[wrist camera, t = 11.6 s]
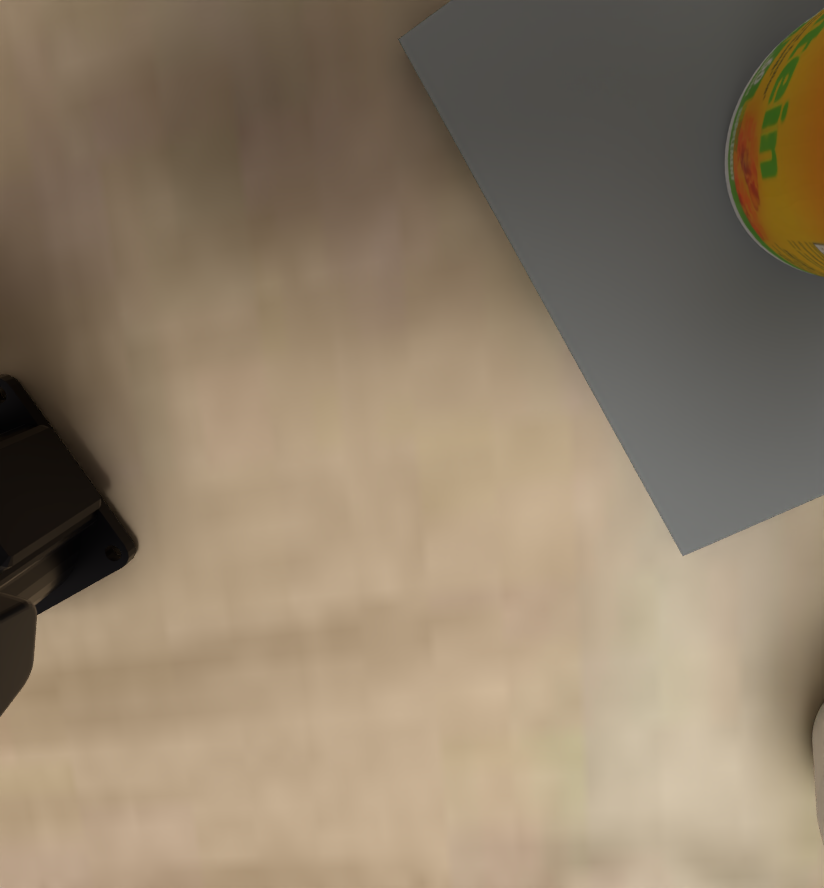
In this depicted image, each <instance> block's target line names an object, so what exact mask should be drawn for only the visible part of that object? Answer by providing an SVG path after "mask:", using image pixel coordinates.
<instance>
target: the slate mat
mask: <svg viewBox="0 0 824 888" xmlns="http://www.w3.org/2000/svg"><path fill="white" fill-rule="evenodd" d="M823 8H824V0H451V1H450V2H448V3H447V4H446V5H444V6H443V7H441V8H440V9H439V10H437V11H436V12H435V13H433V14H432V15H431V16H429V17H428V18H426V19H425V20H424V21H422V22H421V23H420V24H418V25H417V26H416V27H414V28H413V29H412V30H410V31H409V32H407V33H406V34H405V35H403V36H402V37H401V38H399V39H398V40H399V42H400V43H401V45H402V47H403V49H404V51H405V53H406V54H407V56H408V58H409V60H410V62H411V63H412V65H413V67H414V69H415V71H416V73H417V74H418V76H419V78H420V80H421V82H422V83H423V85H424V87H425V89H426V91H427V92H428V94H429V96H430V98H431V100H432V102H433V103H434V105H435V107H436V109H437V111H438V112H439V114H440V116H441V118H442V120H443V122H444V123H445V125H446V127H447V129H448V131H449V132H450V134H451V136H452V138H453V140H454V142H455V143H456V145H457V147H458V149H459V151H460V152H461V154H462V156H463V158H464V160H465V162H466V163H467V165H468V167H469V169H470V171H471V172H472V174H473V176H474V178H475V180H476V181H477V183H478V185H479V187H480V189H481V191H482V192H483V194H484V196H485V198H486V200H487V201H488V203H489V205H490V207H491V209H492V211H493V212H494V214H495V216H496V218H497V220H498V221H499V223H500V225H501V227H502V229H503V231H504V232H505V234H506V236H507V238H508V240H509V241H510V243H511V245H512V247H513V249H514V250H515V252H516V254H517V256H518V258H519V260H520V261H521V263H522V265H523V267H524V269H525V270H526V272H527V274H528V276H529V278H530V280H531V281H532V283H533V285H534V287H535V289H536V290H537V292H538V294H539V296H540V298H541V300H542V301H543V303H544V305H545V307H546V309H547V310H548V312H549V314H550V316H551V318H552V319H553V321H554V323H555V325H556V327H557V329H558V330H559V332H560V334H561V336H562V338H563V339H564V341H565V343H566V345H567V347H568V349H569V350H570V352H571V354H572V356H573V358H574V359H575V361H576V363H577V365H578V367H579V369H580V370H581V372H582V374H583V376H584V378H585V379H586V381H587V383H588V385H589V387H590V388H591V390H592V392H593V394H594V396H595V398H596V399H597V401H598V403H599V405H600V407H601V408H602V410H603V412H604V414H605V416H606V418H607V419H608V421H609V423H610V425H611V427H612V428H613V430H614V432H615V434H616V436H617V438H618V439H619V441H620V443H621V445H622V447H623V448H624V450H625V452H626V454H627V456H628V457H629V459H630V461H631V463H632V465H633V467H634V468H635V470H636V472H637V474H638V476H639V477H640V479H641V481H642V483H643V485H644V487H645V488H646V490H647V492H648V494H649V496H650V497H651V499H652V501H653V503H654V505H655V507H656V508H657V510H658V512H659V514H660V516H661V517H662V519H663V521H664V523H665V525H666V526H667V528H668V530H669V532H670V534H671V536H672V537H673V539H674V541H675V543H676V545H677V546H678V548H679V550H680V552H681V554H682V556H684V555H687V554H689V553H691V552H694V551H696V550H698V549H700V548H703V547H705V546H707V545H710V544H712V543H714V542H717V541H719V540H721V539H723V538H726V537H728V536H730V535H733V534H735V533H737V532H740V531H742V530H744V529H746V528H749V527H751V526H753V525H756V524H758V523H760V522H763V521H765V520H767V519H769V518H772V517H774V516H776V515H779V514H781V513H783V512H786V511H788V510H790V509H792V508H795V507H797V506H799V505H802V504H804V503H806V502H809V501H811V500H813V499H815V498H818V497H820V496H822V495H824V277H821V276H817V275H814V274H810V273H807V272H804V271H801V270H798V269H796V268H793V267H791V266H789V265H787V264H785V263H783V262H781V261H780V260H778V259H776V258H775V257H773V256H772V255H770V254H769V253H768V252H766V251H765V250H764V249H763V248H761V247H760V246H759V245H758V244H757V243H756V242H755V241H754V240H753V239H752V238H751V236H750V235H749V234H748V233H747V231H746V230H745V229H744V227H743V226H742V224H741V222H740V221H739V219H738V217H737V215H736V213H735V211H734V208H733V206H732V203H731V200H730V197H729V194H728V190H727V184H726V177H725V147H726V141H727V135H728V130H729V126H730V122H731V119H732V116H733V113H734V110H735V108H736V106H737V103H738V101H739V98H740V97H741V95H742V93H743V91H744V89H745V87H746V85H747V84H748V82H749V80H750V79H751V77H752V76H753V74H754V73H755V71H756V70H757V69H758V67H759V66H760V65H761V63H762V62H763V61H764V60H765V58H766V57H767V56H768V55H769V54H770V53H771V52H772V50H773V49H774V48H775V47H776V46H777V45H779V44H780V43H781V42H782V41H783V40H784V39H785V38H786V37H787V36H788V35H789V34H791V33H792V32H793V31H794V30H795V29H796V28H798V27H799V26H800V25H801V24H803V23H804V22H805V21H807V20H808V19H810V18H811V17H812V16H814V15H815V14H817V13H818V12H819V11H821V10H822V9H823Z"/></svg>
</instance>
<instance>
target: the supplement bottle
mask: <svg viewBox="0 0 824 888" xmlns="http://www.w3.org/2000/svg"><path fill="white" fill-rule="evenodd" d="M725 177H726V184H727V190H728V194H729V197H730V200H731V203H732V206H733V208H734V211H735V213H736V215H737V217H738V219H739V221H740V222H741V224H742V226H743V227H744V229H745V230H746V231H747V233H748V234H749V235H750V236H751V238H752V239H753V240H754V241H755V242H756V243H757V244H758V245H759V246H760V247H761V248H763V249H764V250H765V251H766V252H768V253H769V254H770V255H772V256H773V257H775V258H776V259H778V260H780V261H781V262H783V263H785V264H787V265H789V266H791V267H793V268H796V269H798V270H801V271H804V272H807V273H810V274H814V275H817V276H821V277H824V8H823V9H822V10H821V11H819V12H818V13H817V14H815V15H814V16H812V17H811V18H810V19H808V20H807V21H805V22H804V23H803V24H801V25H800V26H799V27H798V28H796V29H795V30H794V31H793V32H792V33H791V34H789V35H788V36H787V37H786V38H785V39H784V40H783V41H782V42H781V43H780V44H779V45H777V46H776V47H775V48H774V49H773V50H772V52H771V53H770V54H769V55H768V56H767V57H766V58H765V60H764V61H763V62H762V63H761V65H760V66H759V67H758V69H757V70H756V71H755V73H754V74H753V76H752V77H751V79H750V80H749V82H748V84H747V85H746V87H745V89H744V91H743V93H742V95H741V97H740V98H739V101H738V103H737V106H736V108H735V110H734V113H733V116H732V119H731V122H730V126H729V130H728V135H727V141H726V147H725Z"/></svg>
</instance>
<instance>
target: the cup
mask: <svg viewBox="0 0 824 888" xmlns="http://www.w3.org/2000/svg"><path fill="white" fill-rule="evenodd" d="M812 746H813V762H814V777H815V793H816V809H817V819H818V825H819V829H820V833H821V837H822V840H823V844H824V703H823V704H822V706H821V708H820V709H819V711H818V714H817V716H816V719H815V722H814V726H813V732H812Z"/></svg>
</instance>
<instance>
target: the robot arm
mask: <svg viewBox="0 0 824 888" xmlns="http://www.w3.org/2000/svg"><path fill="white" fill-rule="evenodd" d="M0 387H1V388H2V389H3V390H4V391H5V393H6V399H5V398H3V397H2V396H1V393H0V717H1V715H2V714H3V713H4V711H5V710H6V709H7V707H8V706H9V705H10V703H11V702H12V701H13V699H14V698H15V697H16V695H17V694H18V693H19V692H20V690H21V689H22V687H23V686H24V685H25V683H26V681H27V679H28V678H29V675H30V673H31V670H32V667H33V661H34V649H35V635H36V622H37V615H38V614H40V613H42V612H44V611H45V610H47V609H49V608H51V607H52V606H54V605H56V604H58V603H60V602H61V601H63V600H65V599H67V598H69V597H70V596H72V595H74V594H76V593H77V592H79V591H81V590H83V589H85V588H86V587H88V586H90V585H92V584H94V583H95V582H97V581H99V580H101V579H102V578H104V577H106V576H108V575H110V574H111V573H113V572H115V571H117V570H119V569H120V568H122V567H124V566H125V565H126V564H127V563H128V562H129V561H131V560H132V559H133V558H134V556H135V553H136V548H135V545H134V543H133V540H132V539H131V538H130V536H129V535H128V534H127V532H126V531H125V529H124V528H123V527H122V525H121V524H120V522H119V521H118V520H117V518H116V517H115V515H114V514H113V513H112V511H111V510H110V508H109V507H108V506H107V504H106V503H105V501H104V500H103V499H102V497H101V496H100V494H99V493H98V492H97V490H96V489H95V487H94V486H93V485H92V483H91V482H90V480H89V479H88V478H87V476H86V475H85V473H84V472H83V471H82V469H81V468H80V466H79V465H78V464H77V462H76V461H75V460H74V458H73V457H72V455H71V454H70V453H69V451H68V450H67V448H66V447H65V446H64V444H63V443H62V441H61V440H60V439H59V437H58V436H57V434H56V433H55V432H54V430H53V429H52V427H51V426H50V425H49V423H48V422H47V420H46V419H45V418H44V416H43V415H42V413H41V412H40V411H39V409H38V408H37V406H36V405H35V404H34V402H33V401H32V399H31V398H30V397H29V395H28V394H27V392H26V391H25V390H24V388H23V387H22V385H21V384H20V383H19V382H18V381H17V380H16V379H15V378H14V377H12V376H10V375H3V374H2V375H0ZM112 546H116V547H117V548H118V549H119V550H120V552H121V555H119V554H117V553H116V552H114V550H113V548H112Z"/></svg>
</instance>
